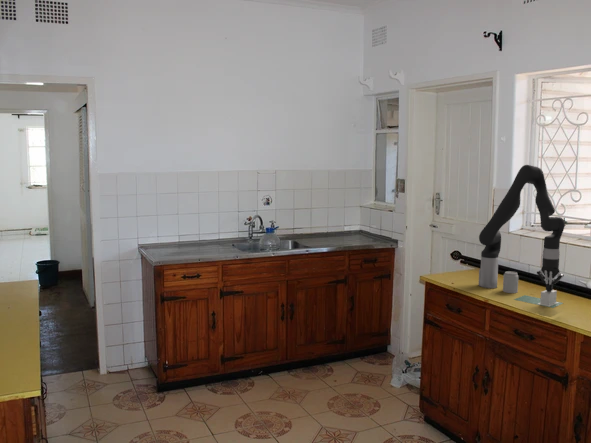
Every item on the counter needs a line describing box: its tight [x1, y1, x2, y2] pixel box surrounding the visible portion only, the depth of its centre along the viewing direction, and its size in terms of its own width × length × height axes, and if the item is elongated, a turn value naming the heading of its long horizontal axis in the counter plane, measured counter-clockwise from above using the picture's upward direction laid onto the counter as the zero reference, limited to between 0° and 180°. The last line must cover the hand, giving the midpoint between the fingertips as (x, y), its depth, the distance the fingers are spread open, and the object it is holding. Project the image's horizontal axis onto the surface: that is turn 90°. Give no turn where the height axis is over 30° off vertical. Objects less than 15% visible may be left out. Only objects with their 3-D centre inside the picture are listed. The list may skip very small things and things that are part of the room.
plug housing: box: [540, 289, 558, 306], centre depth 276 cm, size 8×4×6 cm, turn 132°
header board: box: [513, 294, 564, 309], centre depth 280 cm, size 20×12×4 cm, turn 42°
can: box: [502, 270, 519, 294], centre depth 299 cm, size 8×8×12 cm
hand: (549, 291), depth 275 cm, fingers closed
